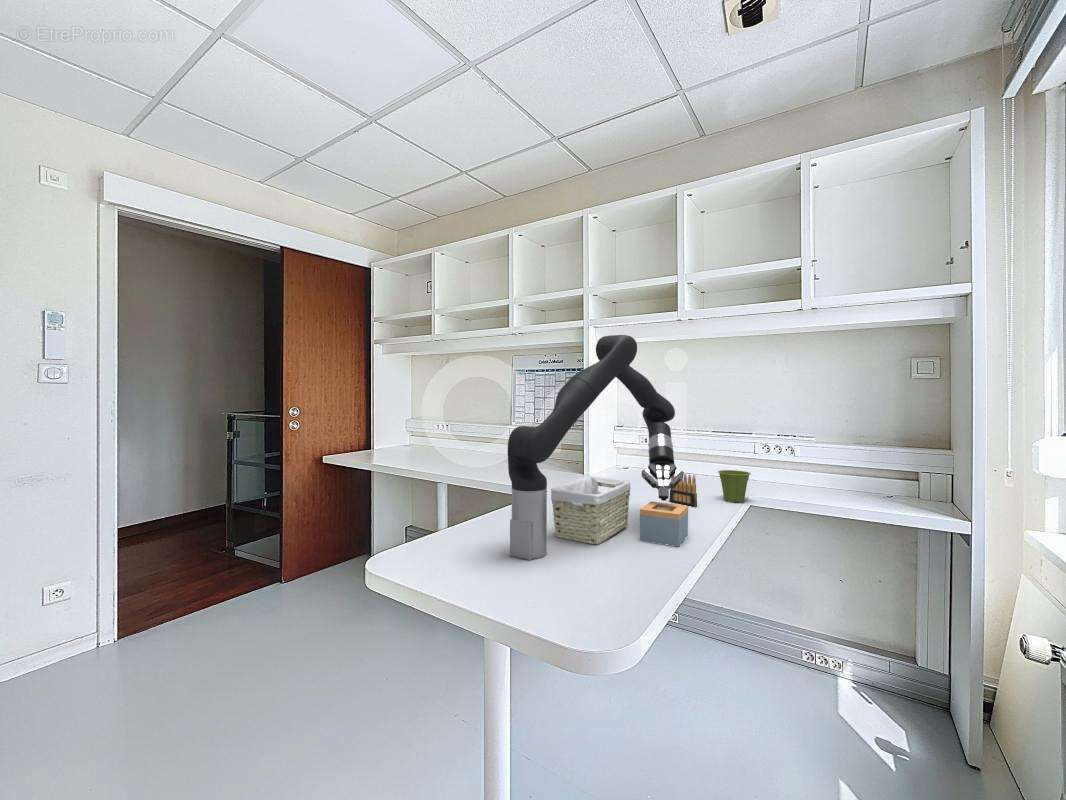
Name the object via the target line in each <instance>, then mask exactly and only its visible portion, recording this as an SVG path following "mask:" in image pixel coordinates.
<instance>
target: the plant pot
mask: <svg viewBox="0 0 1066 800" xmlns="http://www.w3.org/2000/svg"><path fill="white" fill-rule="evenodd" d="M717 473H718V474H719V479H720V483H721V488H722V489H721V490H722V495H723V500H724V501H725V500H726V501H725V502H728V501H730V503H739V502H741V503H744V502H745V499H746V492H747V486H748V481H749V478H750V475H751V474H752V473H751V472H749V471H744V470H734V469H733V470H732V469H724V470H723V469H722V470H718V471H717Z"/></svg>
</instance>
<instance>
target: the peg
mask: <svg viewBox="0 0 1066 800" xmlns="http://www.w3.org/2000/svg"><path fill="white" fill-rule="evenodd" d="M657 509H659V510H667V511H671V507H668V506H657Z"/></svg>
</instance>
